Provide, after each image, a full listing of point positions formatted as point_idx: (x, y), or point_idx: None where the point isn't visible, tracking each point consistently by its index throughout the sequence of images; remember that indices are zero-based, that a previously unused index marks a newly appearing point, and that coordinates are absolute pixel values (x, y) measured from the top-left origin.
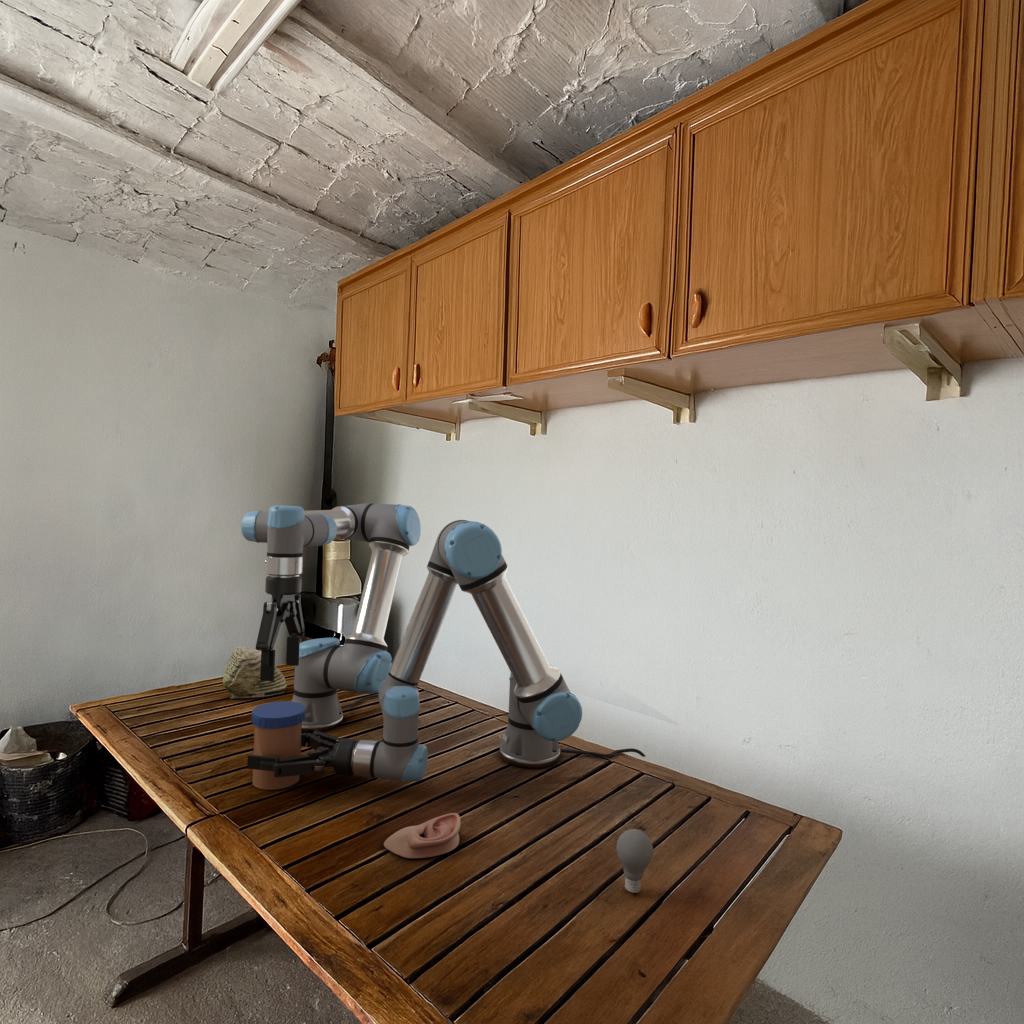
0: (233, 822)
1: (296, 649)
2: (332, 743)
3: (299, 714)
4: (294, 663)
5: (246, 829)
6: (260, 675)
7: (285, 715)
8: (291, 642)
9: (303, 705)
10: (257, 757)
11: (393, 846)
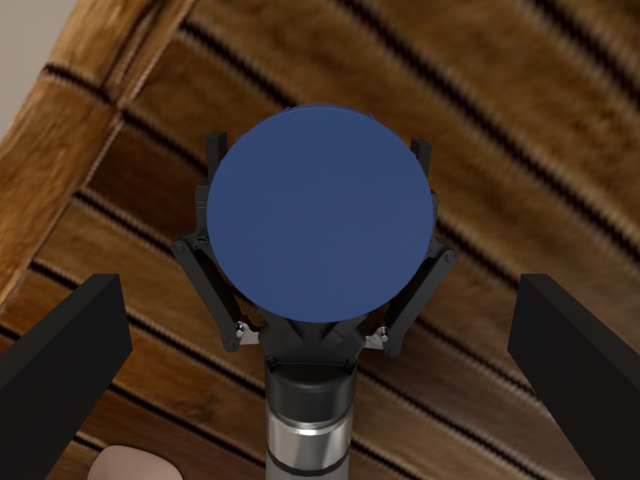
0: (95, 164)
1: (574, 432)
2: (333, 346)
3: (291, 317)
4: (517, 339)
5: (79, 206)
6: (74, 291)
7: (253, 280)
8: (635, 444)
9: (388, 299)
10: (209, 170)
11: (99, 465)
